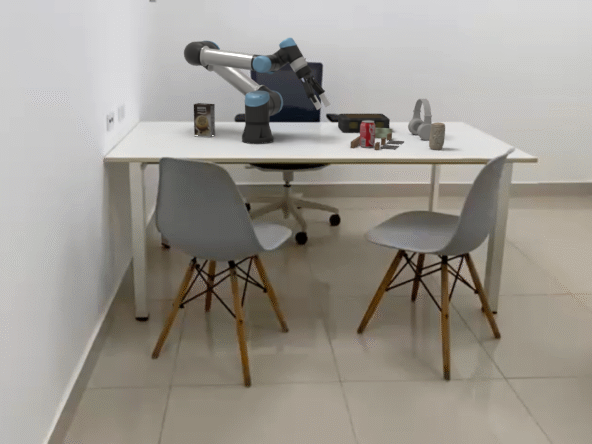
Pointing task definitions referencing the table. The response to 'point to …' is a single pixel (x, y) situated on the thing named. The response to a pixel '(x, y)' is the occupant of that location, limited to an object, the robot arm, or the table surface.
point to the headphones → (417, 124)
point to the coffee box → (204, 119)
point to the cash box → (360, 121)
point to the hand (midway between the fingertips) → (324, 107)
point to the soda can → (367, 134)
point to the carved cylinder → (437, 136)
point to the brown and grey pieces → (384, 135)
